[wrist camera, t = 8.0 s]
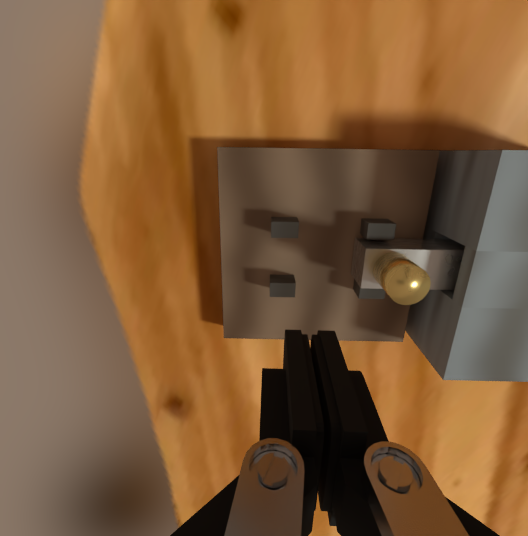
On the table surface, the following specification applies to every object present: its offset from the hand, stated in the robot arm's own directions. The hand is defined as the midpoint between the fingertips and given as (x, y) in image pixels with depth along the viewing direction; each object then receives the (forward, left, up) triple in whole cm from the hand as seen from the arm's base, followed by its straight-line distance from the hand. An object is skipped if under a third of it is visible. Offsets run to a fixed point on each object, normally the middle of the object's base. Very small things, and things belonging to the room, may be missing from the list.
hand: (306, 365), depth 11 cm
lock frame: (+1, +8, -17) cm, 19 cm away
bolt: (+1, +11, -15) cm, 19 cm away
